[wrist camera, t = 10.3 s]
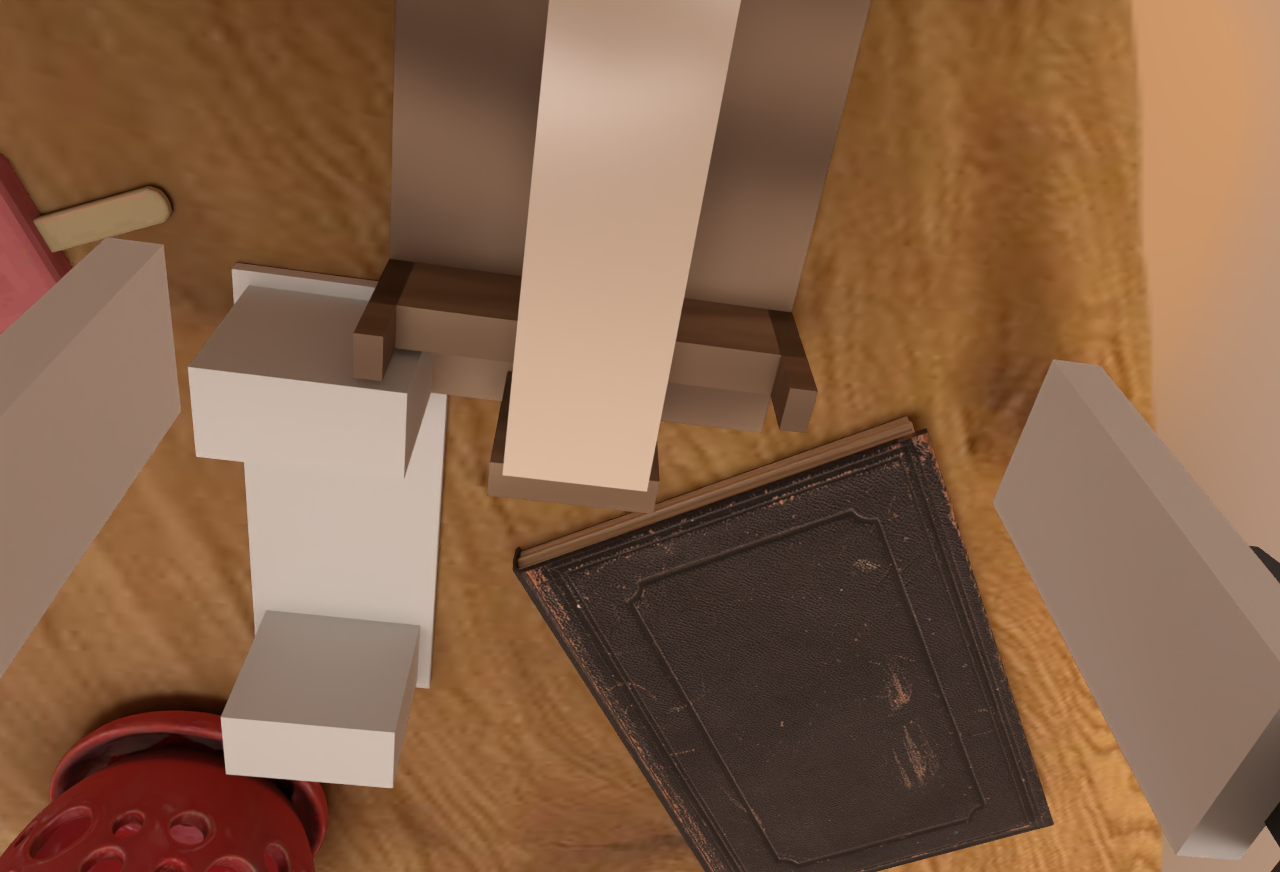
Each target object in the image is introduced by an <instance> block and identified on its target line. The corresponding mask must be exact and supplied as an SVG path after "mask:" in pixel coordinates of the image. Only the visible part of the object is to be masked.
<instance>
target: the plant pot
mask: <svg viewBox="0 0 1280 872" xmlns="http://www.w3.org/2000/svg"><path fill="white" fill-rule="evenodd" d="M50 801H51V804H49V805H48V806H47V807H46V808H45V809H44V810H43V811H42V812H40V813H39V814H38V815H37V816H36V817H35V818H34V819H33V820H32V821H31V822H30V823H29V824H28V825H27V827H26V828H25V829H24V830H23V831H22V832H21V833H20V834H19V835H18V836H17V838H16V839H15V840H14V841H13V842H12V843H11V844H10V846H9V847H8V848H7V849H6V851H5V852H4V853H3V854H2V856H1V857H0V872H315V868H314V863H313V857H314V856H315V854H316V853H317V852H318V850H319V849H320V847H321V845H322V843H323V840H324V838H325V834H326V830H327V825H328V807H327V801H326V797H325V794H324V791H323V789H322V787H321V785H320V783H319V782H313V781H301V780H289V779H277V778H265V777H253V776H242V775H230V774H226V769H225V759H224V748H223V737H222V726H221V716H220V715H215V714H210V713H205V712H196V711H154V712H146V713H140V714H135V715H130V716H127V717H123V718H120V719H117V720H114V721H112V722H110V723H108V724H105V725H103V726H101V727H99V728H98V729H96V730H94V731H93V732H91V733H89V734H88V735H86V736H85V737H84V738H82V739H81V740H80V741H78V742H77V743H76V744H75V745H74V746H73V747H71V748H70V750H69V751H68V752H67V753H66V754H65V755H64V756H63V758H62V759H61V760H60V762H59V764H58V765H57V767H56V769H55V772H54V774H53V777H52V780H51V786H50Z"/></svg>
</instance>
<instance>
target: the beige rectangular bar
mask: <svg viewBox="0 0 1280 872" xmlns="http://www.w3.org/2000/svg"><path fill="white" fill-rule="evenodd" d="M740 3H741V0H549V7H548V18H547V28H546V38H545V48H544V58H543V68H542V79H541V89H540V99H539V109H538V119H537V129H536V140H535V150H534V160H533V170H532V180H531V190H530V200H529V211H528V221H527V231H526V241H525V251H524V261H523V272H522V282H521V292H520V302H519V312H518V322H517V333H516V343H515V353H514V363H513V373H512V383H511V393H510V404H509V414H508V424H507V434H506V444H505V454H504V465H503V475H505V476H514V477H523V478H531V479H540V480H549V481H557V482H566V483H575V484H584V485H592V486H601V487H610V488H619V489H627V490H636V491H645V492H647V488H648V483H649V478H650V473H651V467H652V462H653V457H654V452H655V447H656V441H657V436H658V431H659V426H660V420H661V415H662V410H663V405H664V400H665V394H666V389H667V384H668V379H669V373H670V368H671V363H672V358H673V353H674V347H675V342H676V337H677V332H678V326H679V321H680V316H681V311H682V306H683V300H684V295H685V290H686V285H687V279H688V274H689V269H690V264H691V259H692V253H693V248H694V243H695V238H696V233H697V227H698V222H699V217H700V212H701V206H702V201H703V196H704V191H705V186H706V180H707V175H708V170H709V165H710V159H711V154H712V149H713V144H714V139H715V133H716V128H717V123H718V118H719V112H720V107H721V102H722V97H723V92H724V86H725V81H726V76H727V71H728V65H729V60H730V55H731V50H732V45H733V39H734V34H735V29H736V24H737V18H738V13H739V8H740Z"/></svg>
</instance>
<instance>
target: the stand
mask: <svg viewBox="0 0 1280 872" xmlns="http://www.w3.org/2000/svg"><path fill="white" fill-rule="evenodd" d="M232 281H233V296H234V306H233V307H232V308H231V310H230V311H229V312H228V314H227V315H226V316H225V318H224V319H223V320H222V322H221V323H220V324H219V326H218V327H217V328H216V330H215V331H214V332H213V334H212V335H211V337H210V338H209V339H208V341H207V342H206V343H205V345H204V346H203V347H202V349H201V350H200V351H199V353H198V354H197V355H196V357H195V358H194V359H193V361H192V362H191V363H190V365H189V366H188V373H189V384H190V395H191V406H192V416H193V427H194V438H195V448H196V457H205V458H214V459H222V460H231V461H240V462H244V468H245V484H246V500H247V515H248V531H249V547H250V562H251V578H252V594H253V609H254V625H255V638H254V640H253V643H252V645H251V647H250V650H249V652H248V654H247V657H246V659H245V661H244V664H243V666H242V668H241V671H240V673H239V675H238V678H237V680H236V682H235V685H234V687H233V689H232V692H231V694H230V696H229V699H228V701H227V703H226V706H225V708H224V710H223V713H222V715H221V726H222V737H223V748H224V759H225V769H226V774H230V775H242V776H253V777H265V778H277V779H289V780H301V781H313V782H324V783H336V784H348V785H360V786H372V787H384V788H393V785H394V780H395V776H396V771H397V767H398V763H399V758H400V754H401V749H402V745H403V740H404V736H405V731H406V727H407V723H408V718H409V714H410V709H411V705H412V700H413V696H414V692H415V687H419V688H429V686H430V681H431V669H432V653H433V637H434V620H435V604H436V588H437V571H438V555H439V539H440V522H441V506H442V490H443V474H444V457H445V441H446V425H447V408H448V395H445V394H437V393H431V383H432V363H433V353H430V352H422V351H414V350H406V349H398V348H395V350H394V353H393V355H392V358H391V360H390V363H389V365H388V368H387V370H386V373H385V375H384V378H383V380H382V381H376V380H368V379H360V378H353V333H354V331H355V329H356V327H357V325H358V322H359V320H360V318H361V316H362V314H363V312H364V310H365V308H366V306H367V304H368V302H369V300H370V298H371V296H372V294H373V292H374V290H375V287H376V285H377V283H378V281H373V280H365V279H357V278H350V277H342V276H334V275H327V274H319V273H312V272H304V271H296V270H289V269H281V268H273V267H266V266H258V265H251V264H243V263H236V264H235V265H234V267H233V268H232Z"/></svg>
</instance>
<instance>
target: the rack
mask: <svg viewBox="0 0 1280 872" xmlns="http://www.w3.org/2000/svg"><path fill="white" fill-rule="evenodd" d="M870 3H871V0H741V3H740V8H739V13H738V18H737V24H736V29H735V34H734V39H733V45H732V50H731V55H730V60H729V65H728V71H727V76H726V81H725V86H724V92H723V97H722V102H721V107H720V112H719V118H718V123H717V128H716V133H715V139H714V144H713V149H712V154H711V159H710V165H709V170H708V175H707V180H706V186H705V191H704V196H703V201H702V206H701V212H700V217H699V222H698V227H697V233H696V238H695V243H694V248H693V253H692V259H691V264H690V269H689V274H688V279H687V285H686V290H685V295H684V300H683V306H682V311H681V316H680V321H679V326H678V332H677V337H676V342H675V347H674V353H673V358H672V363H671V368H670V373H669V379H668V384H667V389H666V394H665V400H664V405H663V410H662V415H661V420H660V421H668V422H676V423H684V424H692V425H701V426H709V427H717V428H725V429H734V430H742V431H750V432H758V433H761V431H762V427H763V423H764V419H765V415H766V411H767V407H768V403H769V399H770V395H771V398H772V402H773V406H774V410H775V414H776V418H777V422H778V426H779V430H786V431H794V432H803V433H806V432H807V428H808V425H809V421H810V418H811V414H812V411H813V407H814V403H815V400H816V396H817V393H818V391H817V388H816V385H815V382H814V378H813V375H812V372H811V369H810V366H809V363H808V360H807V357H806V354H805V351H804V348H803V345H802V342H801V339H800V336H799V333H798V330H797V327H796V324H795V321H794V318H793V315H792V309H793V305H794V301H795V297H796V293H797V290H798V286H799V282H800V278H801V274H802V270H803V266H804V262H805V258H806V254H807V250H808V246H809V242H810V238H811V235H812V231H813V227H814V223H815V219H816V215H817V211H818V207H819V203H820V199H821V195H822V191H823V187H824V184H825V180H826V176H827V172H828V168H829V164H830V160H831V156H832V152H833V148H834V144H835V140H836V136H837V132H838V129H839V125H840V121H841V117H842V113H843V109H844V105H845V101H846V97H847V93H848V89H849V85H850V81H851V78H852V74H853V70H854V66H855V62H856V58H857V54H858V50H859V46H860V42H861V38H862V34H863V30H864V27H865V23H866V19H867V15H868V11H869V7H870ZM548 7H549V0H396V8H395V49H394V91H393V133H392V174H391V216H390V258H389V261H388V263H387V265H386V267H385V269H384V271H383V273H382V275H381V277H380V279H379V281H378V283H377V285H376V287H375V290H374V292H373V294H372V296H371V298H370V300H369V302H368V304H367V306H366V308H365V310H364V312H363V314H362V316H361V318H360V320H359V322H358V325H357V327H356V329H355V331H354V333H353V378H360V379H368V380H376V381H382V380H383V378H384V375H385V373H386V370H387V368H388V365H389V363H390V360H391V358H392V355H393V353H394V350H395V348H398V349H406V350H414V351H422V352H430V353H433V363H432V383H431V393H437V394H445V395H454V396H462V397H470V398H478V399H487V400H495V401H502V402H501V407H500V413H499V418H498V423H497V428H496V434H495V439H494V444H493V449H492V455H491V460H490V469H489V480H488V491H487V495H488V496H497V497H506V498H515V499H524V500H533V501H541V502H550V503H559V504H568V505H577V506H586V507H595V508H604V509H613V510H621V511H630V512H639V513H648V514H653V512H654V507H655V502H656V497H657V492H658V487H659V466H658V449H657V441H656V447H655V452H654V457H653V462H652V467H651V473H650V478H649V483H648V488H647V492H645V491H636V490H627V489H619V488H610V487H601V486H592V485H584V484H575V483H566V482H557V481H549V480H540V479H531V478H523V477H514V476H505V475H503V465H504V454H505V444H506V434H507V424H508V414H509V404H510V393H511V383H512V373H513V363H514V353H515V343H516V333H517V322H518V312H519V302H520V292H521V282H522V272H523V261H524V251H525V241H526V231H527V221H528V211H529V200H530V190H531V180H532V170H533V160H534V150H535V140H536V129H537V119H538V109H539V99H540V89H541V79H542V68H543V58H544V48H545V38H546V28H547V18H548Z"/></svg>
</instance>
